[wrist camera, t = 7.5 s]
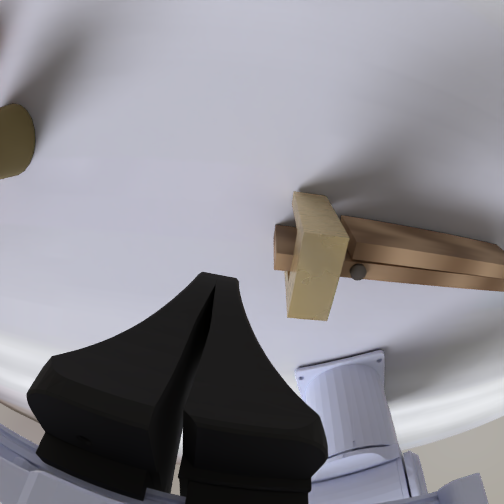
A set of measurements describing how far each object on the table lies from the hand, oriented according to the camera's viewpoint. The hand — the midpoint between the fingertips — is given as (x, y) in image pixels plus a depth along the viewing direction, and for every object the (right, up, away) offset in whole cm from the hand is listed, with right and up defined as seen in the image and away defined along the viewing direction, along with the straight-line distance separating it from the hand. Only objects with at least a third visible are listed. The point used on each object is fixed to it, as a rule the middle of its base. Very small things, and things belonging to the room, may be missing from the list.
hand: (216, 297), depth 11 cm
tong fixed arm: (+12, +2, +9) cm, 15 cm away
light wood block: (+5, +3, +8) cm, 10 cm away
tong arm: (+14, +3, +8) cm, 16 cm away
